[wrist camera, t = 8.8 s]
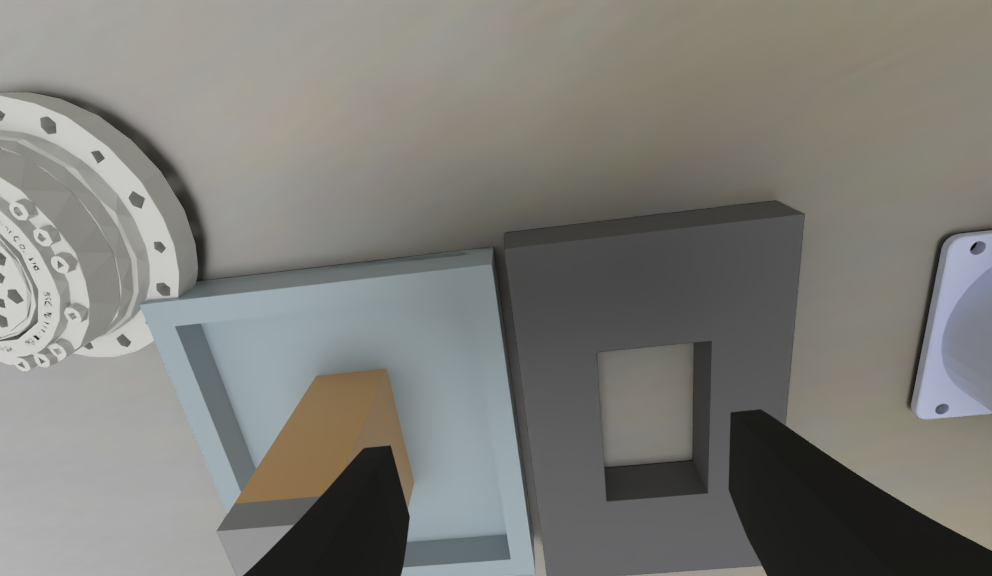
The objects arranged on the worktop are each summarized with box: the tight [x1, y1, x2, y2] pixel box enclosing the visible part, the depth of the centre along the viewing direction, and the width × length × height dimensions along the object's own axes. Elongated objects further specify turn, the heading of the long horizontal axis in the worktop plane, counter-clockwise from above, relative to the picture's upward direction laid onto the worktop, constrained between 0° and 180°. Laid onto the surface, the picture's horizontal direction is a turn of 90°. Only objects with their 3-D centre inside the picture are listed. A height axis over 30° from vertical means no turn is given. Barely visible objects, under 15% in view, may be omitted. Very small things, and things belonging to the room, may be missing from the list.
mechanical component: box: [0, 92, 198, 372], centre depth 18 cm, size 10×4×10 cm
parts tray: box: [140, 247, 535, 576], centre depth 22 cm, size 13×15×2 cm
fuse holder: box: [504, 201, 805, 576], centre depth 22 cm, size 10×16×2 cm, turn 8°
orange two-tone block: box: [217, 369, 414, 576], centre depth 19 cm, size 3×6×8 cm, turn 8°
